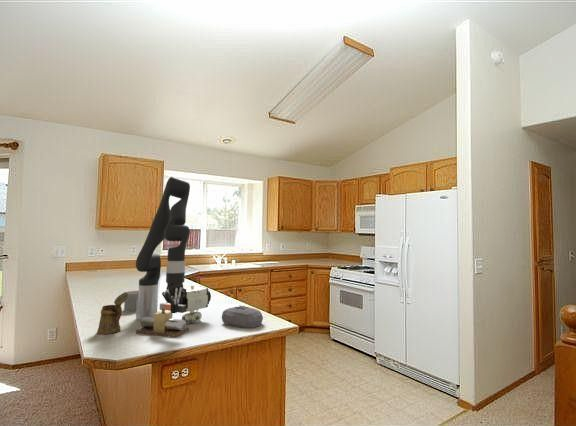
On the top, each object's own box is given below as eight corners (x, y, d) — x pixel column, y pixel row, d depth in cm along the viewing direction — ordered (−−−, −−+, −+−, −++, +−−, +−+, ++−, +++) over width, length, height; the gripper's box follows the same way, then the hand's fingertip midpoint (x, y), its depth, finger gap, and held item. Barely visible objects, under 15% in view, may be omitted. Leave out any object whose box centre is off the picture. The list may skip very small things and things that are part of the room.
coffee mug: (132, 312, 182) (133, 294, 182) (120, 310, 186) (120, 292, 186) (151, 307, 194) (152, 290, 194) (139, 306, 198) (140, 289, 199)
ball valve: (181, 327, 153) (182, 289, 154) (171, 324, 158) (172, 287, 159) (212, 319, 167) (213, 284, 168) (202, 317, 172) (202, 282, 173)
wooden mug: (115, 337, 139) (116, 293, 140) (92, 333, 144) (94, 291, 145) (132, 331, 147) (133, 290, 148) (109, 328, 152) (111, 288, 153)
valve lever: (157, 309, 146) (158, 303, 146) (163, 308, 149) (163, 302, 149) (181, 313, 140) (181, 306, 140) (186, 311, 143) (186, 305, 143)
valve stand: (135, 333, 144) (136, 310, 145) (150, 327, 154) (151, 306, 154) (175, 337, 139) (176, 313, 139) (188, 330, 148) (189, 308, 149)
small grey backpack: (217, 324, 159) (250, 331, 148) (218, 307, 159) (250, 312, 149) (238, 318, 172) (269, 323, 161) (238, 301, 172) (269, 306, 162)
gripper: (171, 273, 134) (169, 316, 132) (192, 270, 146) (191, 310, 144) (157, 272, 137) (155, 315, 135) (179, 269, 149) (177, 309, 147)
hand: (174, 312), depth 140 cm, fingers closed
